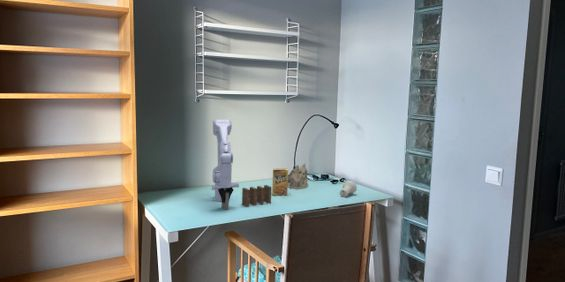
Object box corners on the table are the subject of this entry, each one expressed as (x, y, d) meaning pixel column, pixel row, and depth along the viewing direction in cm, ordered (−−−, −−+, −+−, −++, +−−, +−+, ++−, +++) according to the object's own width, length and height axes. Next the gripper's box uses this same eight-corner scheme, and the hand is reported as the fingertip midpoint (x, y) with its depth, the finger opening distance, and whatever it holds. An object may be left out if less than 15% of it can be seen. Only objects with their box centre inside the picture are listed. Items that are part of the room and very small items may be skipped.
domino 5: (268, 203, 228) (268, 187, 227) (263, 201, 233) (264, 185, 231) (270, 203, 229) (271, 186, 228) (266, 200, 233) (266, 184, 232)
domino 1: (225, 210, 214) (226, 193, 213) (221, 207, 218) (221, 190, 217) (228, 209, 215) (228, 192, 214) (224, 207, 219) (224, 190, 218)
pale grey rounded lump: (358, 192, 254) (355, 180, 252) (350, 200, 245) (348, 187, 243) (346, 192, 258) (343, 180, 257) (338, 200, 249) (335, 187, 248)
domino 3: (254, 205, 223) (254, 189, 222) (249, 203, 228) (249, 187, 226) (256, 205, 224) (257, 188, 223) (251, 202, 228) (252, 186, 227)
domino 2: (246, 206, 221) (247, 190, 220) (241, 204, 225) (242, 187, 224) (249, 206, 222) (249, 189, 221) (244, 204, 226) (245, 187, 225)
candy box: (272, 195, 245) (273, 169, 243) (272, 193, 249) (272, 167, 247) (287, 195, 245) (288, 169, 243) (287, 193, 250) (288, 168, 247)
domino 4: (261, 204, 226) (261, 188, 225) (256, 202, 230) (257, 186, 229) (263, 204, 227) (264, 187, 226) (259, 201, 231) (259, 185, 230)
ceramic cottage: (295, 181, 281) (295, 159, 278) (313, 187, 270) (313, 164, 266) (277, 186, 271) (278, 163, 268) (295, 192, 259) (296, 169, 256)
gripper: (216, 179, 207) (215, 206, 209) (242, 176, 215) (241, 202, 217) (210, 176, 213) (209, 202, 215) (235, 173, 221) (235, 199, 223)
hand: (225, 202), depth 216 cm, fingers closed on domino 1, 2 cm apart
